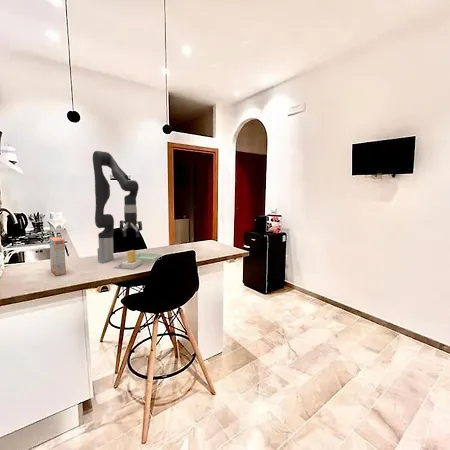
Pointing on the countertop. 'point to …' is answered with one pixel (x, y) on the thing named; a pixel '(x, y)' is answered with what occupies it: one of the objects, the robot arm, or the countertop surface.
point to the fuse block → (129, 265)
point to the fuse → (131, 256)
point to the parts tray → (147, 257)
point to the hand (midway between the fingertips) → (131, 236)
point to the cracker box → (57, 255)
